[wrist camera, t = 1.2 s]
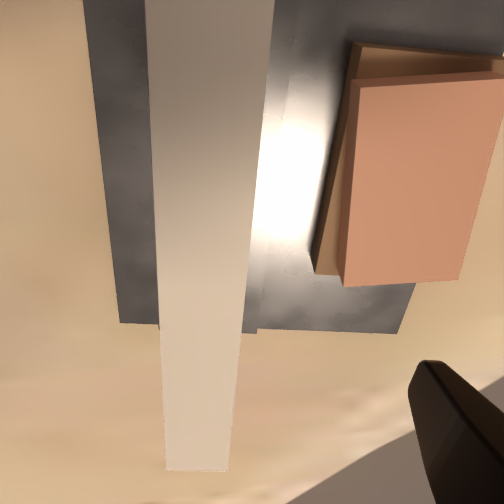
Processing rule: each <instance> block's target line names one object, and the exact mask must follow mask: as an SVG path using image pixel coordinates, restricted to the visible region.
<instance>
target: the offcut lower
mask: <svg viewBox="0 0 504 504" xmlns="http://www.w3.org/2000/svg"><path fill="white" fill-rule="evenodd" d="M480 71H494V72H497V73H500V74H503V75H504V57H503V56H494V55H484V54H473V53H463V52H452V51H442V50H431V49H421V48H410V47H400V46H389V45H379V44H368V43H358V42H353V45H352V51H351V56H350V61H349V66H348V71H347V76H346V81H345V86H344V91H343V96H342V101H341V106H340V111H339V116H338V121H337V126H336V131H335V137H334V142H333V147H332V152H331V157H330V162H329V167H328V172H327V177H326V182H325V187H324V192H323V197H322V202H321V207H320V212H319V217H318V223H317V228H316V233H315V238H314V243H313V248H312V253H311V258H310V259H311V262H312V266H313V270H314V273H315V275H333V276H339V273H338V271H337V263H338V250H339V236H340V223H341V209H342V196H343V182H344V169H345V155H346V141H347V128H348V114H349V101H350V87H351V80H352V79H368V78H384V77H400V76H416V75H432V74H448V73H464V72H480Z"/></svg>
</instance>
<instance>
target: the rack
mask: <svg viewBox="0 0 504 504" xmlns="http://www.w3.org/2000/svg"><path fill="white" fill-rule="evenodd" d="M83 5H84V14H85V23H86V32H87V40H88V49H89V58H90V66H91V75H92V84H93V93H94V101H95V110H96V119H97V128H98V136H99V145H100V154H101V162H102V171H103V180H104V189H105V197H106V206H107V215H108V223H109V232H110V241H111V250H112V258H113V267H114V276H115V285H116V293H117V302H118V311H119V319H120V323H136V324H159V330H160V323H159V301H158V279H157V257H156V235H155V213H154V190H153V168H152V146H151V124H150V102H149V80H148V57H147V35H146V13H145V0H83ZM353 42H358V43H368V44H379V45H389V46H400V47H410V48H421V49H431V50H442V51H452V52H463V53H473V54H484V55H494V56H502V55H503V53H504V0H275V3H274V13H273V23H272V33H271V43H270V53H269V62H268V72H267V82H266V92H265V102H264V112H263V122H262V132H261V142H260V152H259V162H258V172H257V182H256V192H255V202H254V212H253V222H252V232H251V242H250V252H249V262H248V272H247V281H246V291H245V301H244V311H243V321H242V331H241V333H251V334H257V328H260V329H285V330H310V331H335V332H359V333H384V334H397V332H398V329H399V327H400V324H401V322H402V319H403V316H404V314H405V311H406V308H407V306H408V303H409V300H410V298H411V295H412V293H413V290H414V287H415V285H416V283H402V284H386V285H370V286H355V287H343V285H342V282H341V279H340V276H333V275H315V273H314V270H313V266H312V262H311V259H310V258H311V253H312V248H313V243H314V238H315V233H316V228H317V223H318V217H319V212H320V207H321V202H322V197H323V192H324V187H325V182H326V177H327V172H328V167H329V162H330V157H331V152H332V147H333V142H334V137H335V131H336V126H337V121H338V116H339V111H340V106H341V101H342V96H343V91H344V86H345V81H346V76H347V71H348V66H349V61H350V56H351V51H352V45H353Z"/></svg>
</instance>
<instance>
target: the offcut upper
mask: <svg viewBox="0 0 504 504" xmlns="http://www.w3.org/2000/svg"><path fill="white" fill-rule="evenodd" d="M503 114H504V75H503V74H500V73H497V72H494V71H480V72H464V73H448V74H432V75H416V76H400V77H384V78H368V79H352V80H351V87H350V101H349V114H348V128H347V141H346V155H345V169H344V182H343V196H342V209H341V223H340V236H339V250H338V263H337V271H338V273H339V276H340V279H341V282H342V285H343V287H355V286H370V285H386V284H402V283H418V282H434V281H450V280H458V278H459V274H460V270H461V267H462V263H463V259H464V256H465V252H466V248H467V245H468V241H469V237H470V234H471V230H472V227H473V223H474V219H475V216H476V212H477V208H478V205H479V201H480V197H481V194H482V190H483V186H484V183H485V179H486V176H487V172H488V168H489V165H490V161H491V157H492V154H493V150H494V146H495V143H496V139H497V136H498V132H499V128H500V125H501V121H502V117H503Z"/></svg>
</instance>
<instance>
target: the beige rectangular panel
mask: <svg viewBox="0 0 504 504" xmlns="http://www.w3.org/2000/svg"><path fill="white" fill-rule="evenodd" d="M274 3H275V0H145V13H146V35H147V57H148V80H149V102H150V124H151V146H152V168H153V190H154V213H155V235H156V257H157V279H158V301H159V323H160V346H161V368H162V390H163V412H164V434H165V456H166V471H228V461H229V451H230V441H231V431H232V421H233V411H234V401H235V391H236V381H237V371H238V361H239V351H240V341H241V331H242V321H243V311H244V301H245V291H246V281H247V272H248V262H249V252H250V242H251V232H252V222H253V212H254V202H255V192H256V182H257V172H258V162H259V152H260V142H261V132H262V122H263V112H264V102H265V92H266V82H267V72H268V62H269V53H270V43H271V33H272V23H273V13H274Z"/></svg>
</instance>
